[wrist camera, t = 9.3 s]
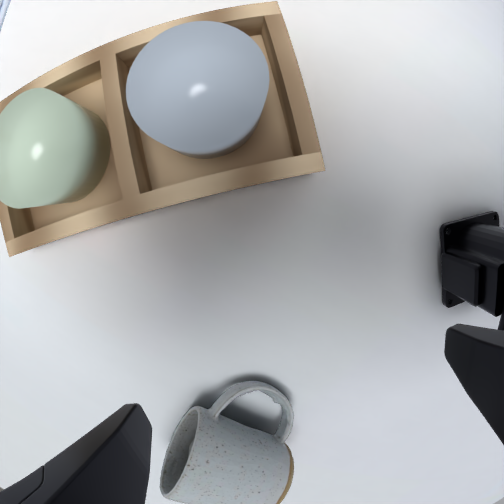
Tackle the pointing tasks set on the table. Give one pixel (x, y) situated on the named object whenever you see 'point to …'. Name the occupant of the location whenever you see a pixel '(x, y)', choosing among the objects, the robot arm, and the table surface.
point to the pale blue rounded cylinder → (199, 88)
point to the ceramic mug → (228, 455)
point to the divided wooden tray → (159, 155)
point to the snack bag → (3, 10)
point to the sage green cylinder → (50, 150)
